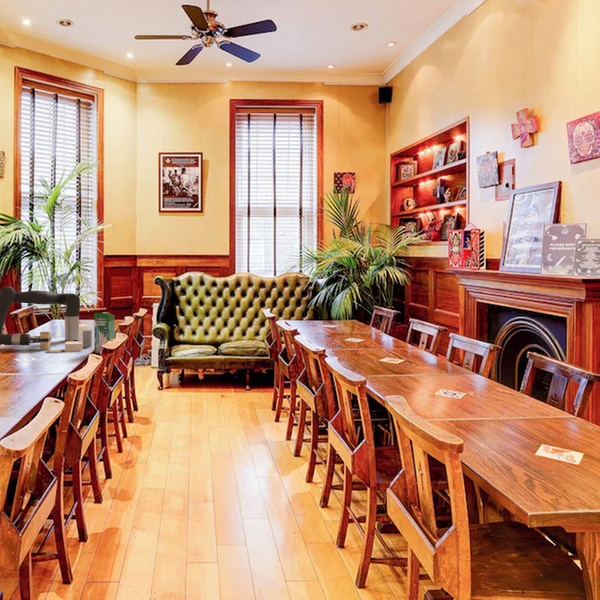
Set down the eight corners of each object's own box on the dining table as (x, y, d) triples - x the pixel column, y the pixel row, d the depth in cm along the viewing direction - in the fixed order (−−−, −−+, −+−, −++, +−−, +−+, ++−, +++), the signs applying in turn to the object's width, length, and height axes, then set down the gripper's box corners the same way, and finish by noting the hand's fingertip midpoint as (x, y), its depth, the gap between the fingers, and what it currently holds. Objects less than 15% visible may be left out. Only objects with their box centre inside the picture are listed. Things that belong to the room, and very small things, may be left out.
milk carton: (114, 351, 348) (114, 311, 346) (108, 353, 339) (108, 313, 337) (101, 350, 349) (100, 311, 347) (94, 352, 340) (94, 312, 338)
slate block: (84, 346, 363) (84, 330, 362) (92, 346, 364) (91, 329, 363) (82, 347, 358) (82, 330, 357) (90, 347, 359) (90, 330, 358)
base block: (66, 349, 352) (66, 341, 352) (82, 348, 355) (82, 341, 355) (65, 351, 343) (65, 344, 342) (82, 351, 346) (82, 343, 346)
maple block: (42, 348, 351) (42, 331, 350) (50, 348, 352) (50, 331, 351) (40, 349, 346) (40, 332, 345) (48, 349, 347) (48, 332, 346)
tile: (49, 350, 345) (49, 349, 345) (64, 350, 347) (64, 349, 347) (45, 352, 336) (45, 351, 336) (60, 352, 338) (60, 351, 338)
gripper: (17, 335, 338) (46, 335, 342) (24, 332, 352) (52, 332, 356) (17, 347, 339) (46, 347, 342) (24, 343, 353) (52, 343, 356)
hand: (49, 339), depth 349 cm, fingers closed on maple block, 4 cm apart
